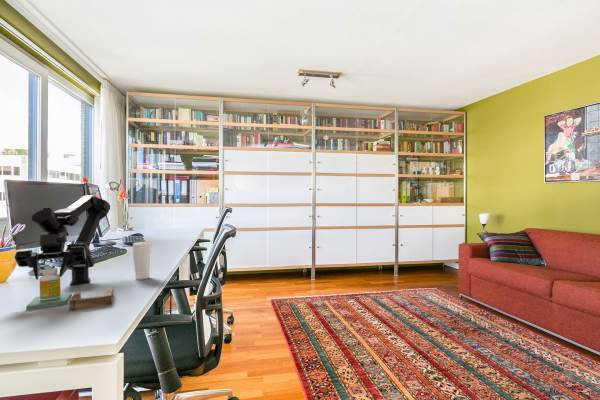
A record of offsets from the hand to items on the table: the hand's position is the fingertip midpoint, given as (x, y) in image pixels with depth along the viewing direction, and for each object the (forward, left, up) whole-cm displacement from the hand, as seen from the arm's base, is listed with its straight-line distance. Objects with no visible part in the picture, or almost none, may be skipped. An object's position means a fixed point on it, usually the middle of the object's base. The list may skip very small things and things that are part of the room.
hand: (48, 277), depth 104 cm
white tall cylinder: (-17, +29, -9) cm, 35 cm away
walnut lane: (+8, +12, -9) cm, 17 cm away
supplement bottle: (-2, 0, -8) cm, 8 cm away
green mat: (-1, 0, -9) cm, 9 cm away
